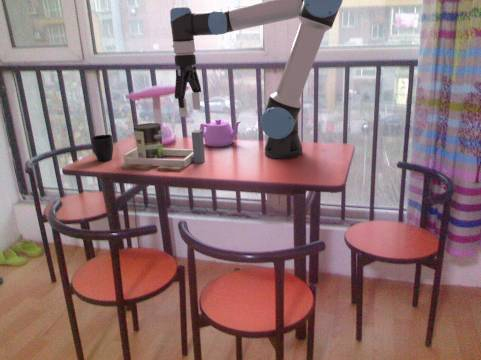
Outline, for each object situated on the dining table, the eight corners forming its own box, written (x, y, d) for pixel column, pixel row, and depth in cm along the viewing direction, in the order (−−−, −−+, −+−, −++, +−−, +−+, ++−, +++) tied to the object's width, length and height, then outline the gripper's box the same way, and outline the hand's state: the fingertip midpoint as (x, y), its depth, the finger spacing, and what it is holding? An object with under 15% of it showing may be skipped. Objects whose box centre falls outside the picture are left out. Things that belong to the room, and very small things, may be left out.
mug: (122, 154, 179) (119, 132, 175) (109, 162, 167) (106, 139, 164) (104, 154, 180) (101, 132, 177) (90, 162, 169) (86, 139, 166)
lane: (209, 156, 170) (207, 126, 166) (196, 167, 156) (193, 136, 152) (142, 153, 177) (139, 125, 173) (124, 164, 164) (120, 134, 160)
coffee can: (168, 156, 172) (164, 122, 168) (158, 164, 163) (154, 128, 158) (144, 156, 174) (140, 122, 170) (133, 163, 165) (129, 128, 160)
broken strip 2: (183, 168, 156) (183, 166, 156) (180, 171, 153) (180, 168, 153) (161, 167, 158) (161, 165, 158) (157, 170, 156) (157, 167, 155)
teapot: (237, 149, 179) (236, 123, 175) (194, 147, 185) (192, 122, 181) (246, 141, 191) (246, 117, 187) (206, 139, 197) (204, 116, 193)
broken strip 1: (152, 167, 159) (152, 165, 159) (149, 170, 157) (149, 167, 156) (126, 166, 162) (126, 163, 162) (122, 168, 159) (122, 166, 159)
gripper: (187, 52, 163) (193, 107, 170) (160, 57, 140) (167, 119, 148) (206, 51, 161) (210, 106, 168) (181, 56, 138) (187, 119, 146)
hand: (190, 113), depth 158 cm, fingers open, 13 cm apart
